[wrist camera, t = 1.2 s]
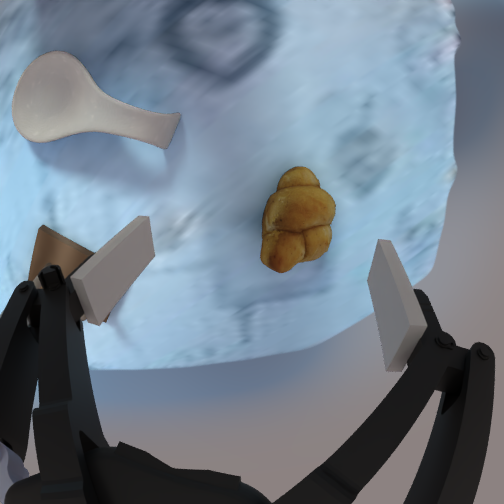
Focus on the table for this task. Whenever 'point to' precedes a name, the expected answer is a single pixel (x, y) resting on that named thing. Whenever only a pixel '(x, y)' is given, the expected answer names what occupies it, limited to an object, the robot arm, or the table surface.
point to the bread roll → (296, 221)
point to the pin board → (56, 255)
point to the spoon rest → (79, 106)
